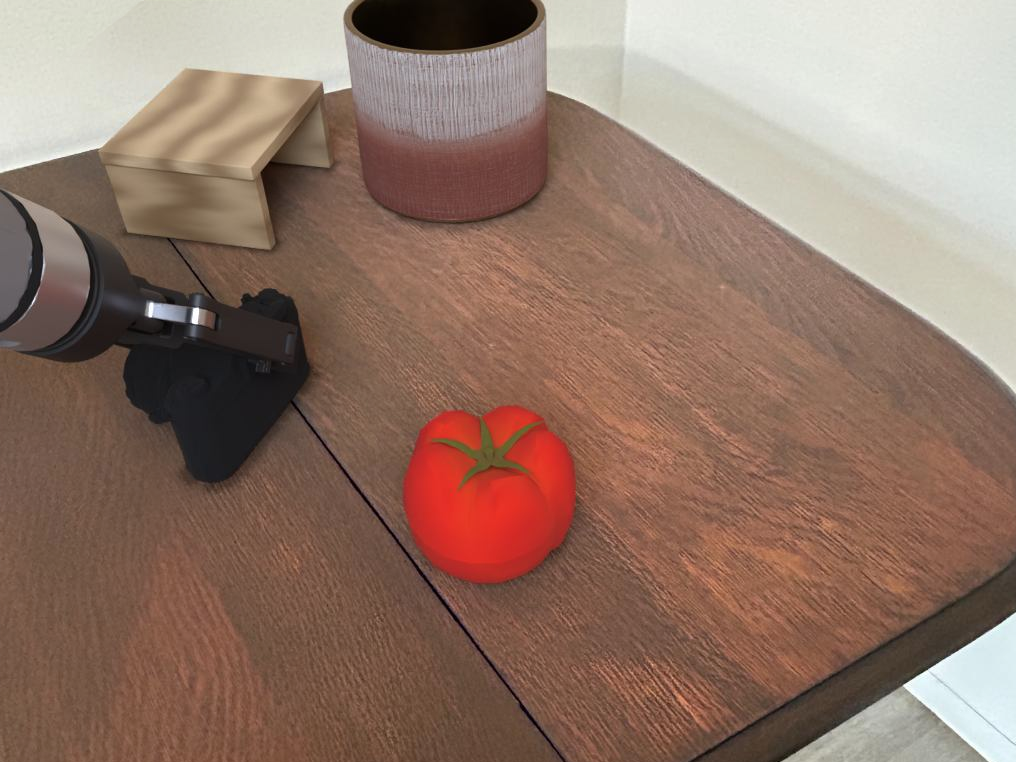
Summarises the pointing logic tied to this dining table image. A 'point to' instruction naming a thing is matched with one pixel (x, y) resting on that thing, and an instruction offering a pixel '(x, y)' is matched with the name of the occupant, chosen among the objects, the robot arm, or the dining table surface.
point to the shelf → (214, 154)
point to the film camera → (215, 393)
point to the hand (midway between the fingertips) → (225, 347)
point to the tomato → (489, 493)
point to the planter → (450, 104)
